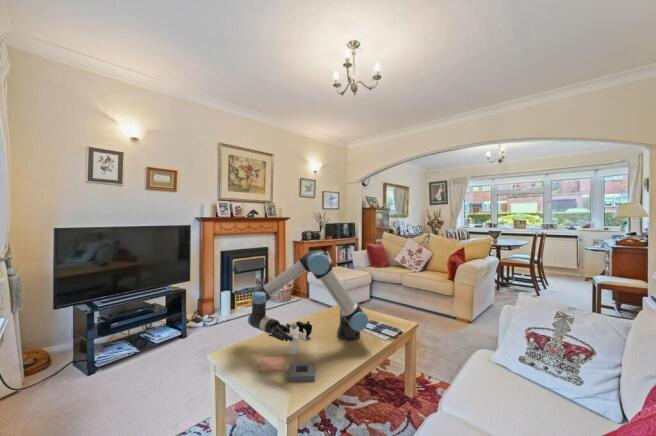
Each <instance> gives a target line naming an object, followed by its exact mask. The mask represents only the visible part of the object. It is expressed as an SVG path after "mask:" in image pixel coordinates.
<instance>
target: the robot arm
mask: <svg viewBox="0 0 656 436" xmlns="http://www.w3.org/2000/svg"><path fill="white" fill-rule="evenodd" d="M333 268H334V267H333V266H332V264H331V263H330V260H329V258H328V257H327V256H326V254H324V253H322V252H321V251H320V250H314V249H313V250H310V251H308V252H306V253H305V254H303V256H301V257H299V258H298V259H297V262H296V263H294V264H292V265H291V266H289V268H287V269H286V270H284V271H283V272H281V273H280V274H278V275H277V276H275V277H274V278H272V280H270V281H269V282H267V283H266V284H264V285H263V286H262V287H260V288H256V289H255V290H254V291H253V292H252V298H251V313H250V314H249V315H248V317H247V323H248V325H249V326H251V327H252V328H254V329H257V330H260V331H262V332H264V333H267V334H268V337H272V338H274V339H276V340H279V341H282V342H283V341H284V342H288V341H289V342H290V341H292V342H294V343H297V344H298V345H299V343H300V339H301V340H304V341H306V340H307V337H306V333H305V332H304V333H305V334H304V333H302V332H299V338H298V337H296V336H294V335H291V334H290V327H291V326H292V324H290V323H285V325H284V324H281V322H280V321H279V320H277V319H274V318H272V317H269V316H267V315H266V314H267V313H266V310H267V300H268V299H269V298H270V297H271V296H273V295H275V294H276V293H277V292H279V291H280V290H281V289H283V288H284V287H285V286H287V285H289V284H290V283H291V282H293V281H294V280H296V279H297V278H298V277H300V276H301V275H302V274H304V273H308V272H311V273H312V275H313V276H314V278H315V279H316V280H320V281H321V283H322V285H323V286H324V288H325V289H326V290H327V292H328V293H329V294H330V296H331V297H332V299H333V300H334V301H335V303H336V305H337V306H338V308H339V326H338V328H337V331H336V337H337V338H338V339H340V340H343V341H347V342H348V341H352V342H353V341H357V340H359V339H361V331H363V330H365V328H366V327H367V326H368V324H369V318H368V315H367V314H366V313H365V312H364V311H363V309H362V308H361V306H360V305H359V301H358V300H356V299H352V298H351V295H349V293H348V292H347V290H346V289H345V288H344V286H343V285H342V283H341V282H340V280H339V279H338V278H337V276H336V275H335V273H334V271H333Z"/></svg>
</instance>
